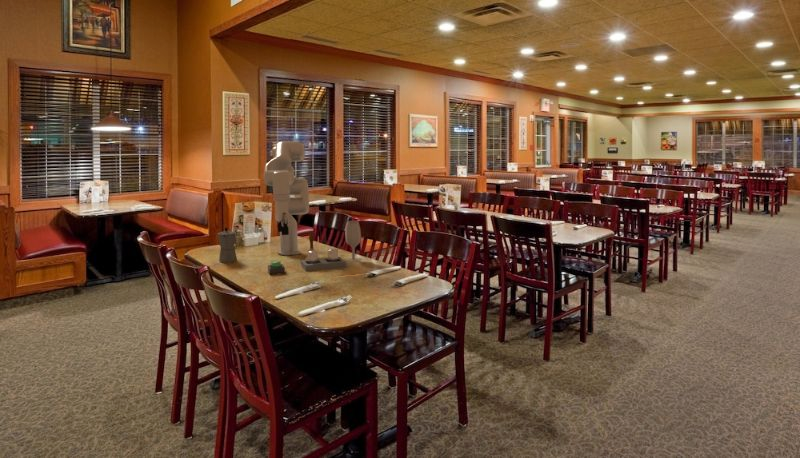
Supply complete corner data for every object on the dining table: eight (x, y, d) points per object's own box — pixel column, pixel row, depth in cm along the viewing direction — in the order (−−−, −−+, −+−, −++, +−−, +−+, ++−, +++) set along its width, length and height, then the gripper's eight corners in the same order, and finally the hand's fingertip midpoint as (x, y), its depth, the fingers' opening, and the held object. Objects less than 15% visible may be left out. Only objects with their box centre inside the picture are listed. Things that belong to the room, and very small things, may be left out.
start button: (270, 266, 243) (270, 261, 243) (280, 265, 245) (279, 260, 244) (272, 268, 239) (271, 263, 239) (281, 267, 241) (281, 262, 240)
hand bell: (321, 259, 270) (320, 229, 267) (317, 262, 262) (316, 232, 259) (306, 258, 271) (305, 229, 268) (302, 262, 263) (300, 232, 260)
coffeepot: (235, 263, 261) (233, 229, 258) (216, 264, 260) (213, 229, 257) (240, 256, 276) (238, 224, 273) (222, 257, 275) (220, 225, 272)
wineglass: (361, 263, 260) (360, 223, 257) (344, 263, 260) (343, 223, 257) (362, 259, 269) (361, 220, 265) (346, 259, 269) (345, 220, 265)
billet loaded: (327, 264, 254) (326, 249, 252) (336, 263, 255) (336, 248, 254) (329, 266, 249) (329, 251, 248) (339, 266, 251) (338, 250, 250)
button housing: (268, 271, 244) (267, 265, 244) (282, 270, 247) (282, 264, 246) (269, 274, 238) (269, 268, 237) (284, 273, 240) (284, 267, 240)
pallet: (301, 267, 252) (300, 260, 252) (339, 263, 260) (339, 256, 259) (305, 272, 241) (305, 265, 241) (346, 268, 249) (345, 261, 248)
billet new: (307, 266, 250) (306, 250, 249) (317, 265, 252) (316, 249, 251) (309, 268, 246) (308, 252, 244) (319, 267, 247) (318, 251, 246)
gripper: (270, 196, 244) (272, 231, 247) (276, 199, 228) (278, 236, 231) (286, 195, 247) (287, 230, 250) (293, 198, 231) (294, 235, 234)
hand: (283, 233), depth 240 cm, fingers open, 9 cm apart
